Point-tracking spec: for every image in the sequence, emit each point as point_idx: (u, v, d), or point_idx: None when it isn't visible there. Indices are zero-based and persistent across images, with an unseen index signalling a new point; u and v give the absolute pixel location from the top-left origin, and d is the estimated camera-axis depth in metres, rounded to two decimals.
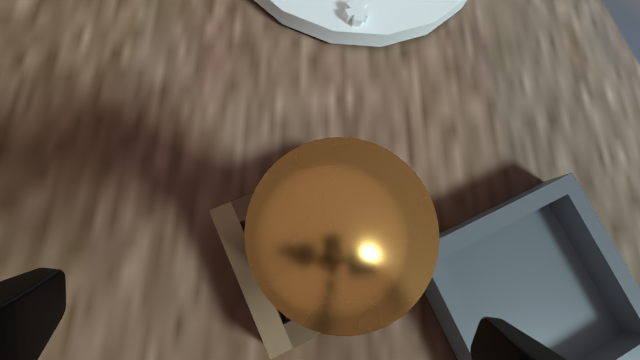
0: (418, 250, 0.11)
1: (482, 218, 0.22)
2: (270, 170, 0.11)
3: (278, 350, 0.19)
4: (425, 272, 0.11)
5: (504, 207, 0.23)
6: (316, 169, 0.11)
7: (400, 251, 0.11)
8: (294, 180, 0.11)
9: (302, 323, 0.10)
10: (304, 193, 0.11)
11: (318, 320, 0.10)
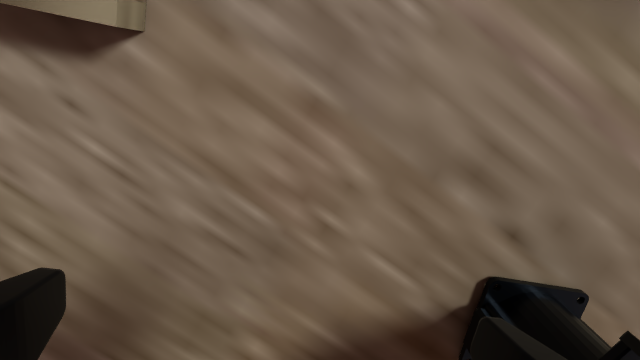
0: None
1: None
2: None
3: (111, 11, 0.15)
4: None
5: None
6: None
7: None
8: None
9: None
10: None
11: None
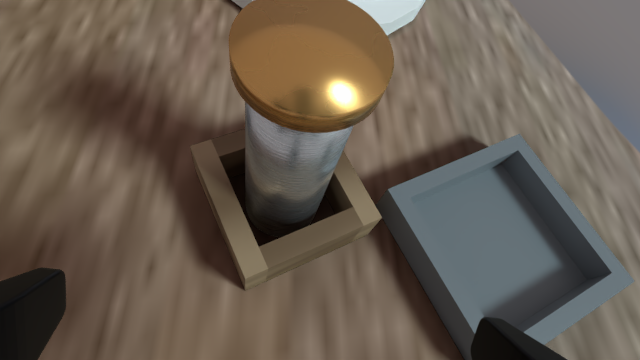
0: (377, 64, 0.13)
1: (444, 166, 0.24)
2: (251, 3, 0.13)
3: (253, 270, 0.19)
4: (383, 78, 0.12)
5: (463, 158, 0.25)
6: (289, 6, 0.13)
7: (361, 62, 0.13)
8: (271, 11, 0.13)
9: (278, 102, 0.11)
10: (280, 19, 0.13)
11: (292, 101, 0.11)
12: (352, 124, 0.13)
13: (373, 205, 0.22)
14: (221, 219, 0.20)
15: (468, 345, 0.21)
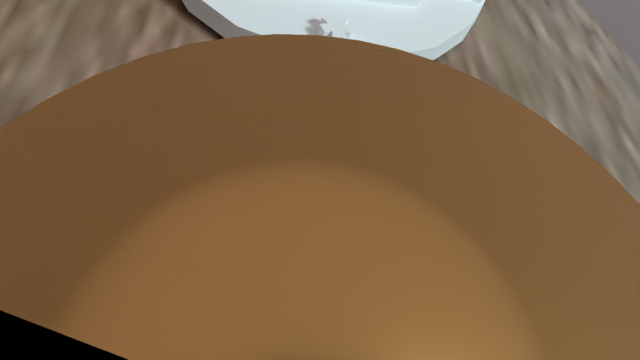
0: None
1: None
2: (24, 121, 0.02)
3: None
4: None
5: None
6: (229, 127, 0.03)
7: None
8: (128, 163, 0.02)
9: None
10: (167, 217, 0.02)
11: None
12: None
13: None
14: None
15: None
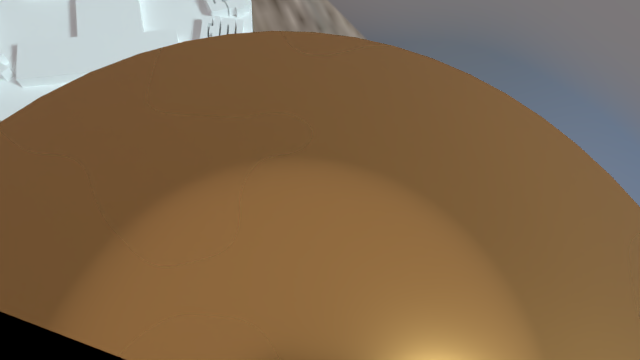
0: None
1: None
2: (20, 117, 0.02)
3: None
4: None
5: None
6: (223, 123, 0.03)
7: None
8: (124, 159, 0.02)
9: None
10: (162, 213, 0.02)
11: None
12: None
13: None
14: None
15: None
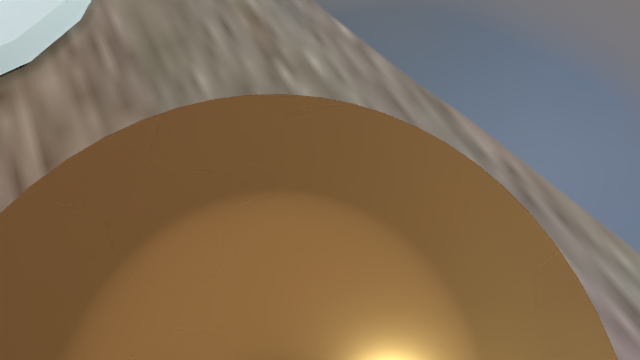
0: None
1: None
2: (52, 177, 0.03)
3: None
4: None
5: None
6: (210, 176, 0.03)
7: None
8: (131, 208, 0.03)
9: None
10: (161, 251, 0.03)
11: None
12: None
13: None
14: None
15: None
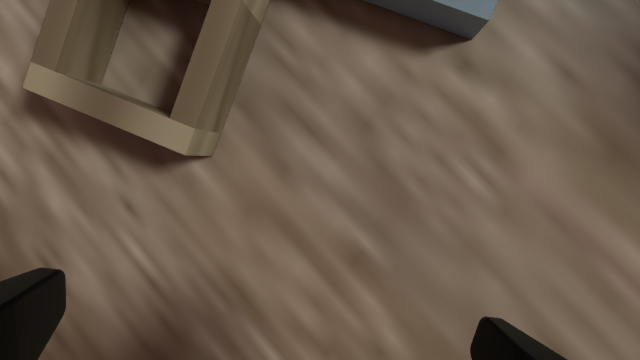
0: None
1: None
2: None
3: (184, 142, 0.16)
4: None
5: None
6: None
7: None
8: None
9: None
10: None
11: None
12: None
13: None
14: (117, 125, 0.17)
15: (443, 17, 0.17)
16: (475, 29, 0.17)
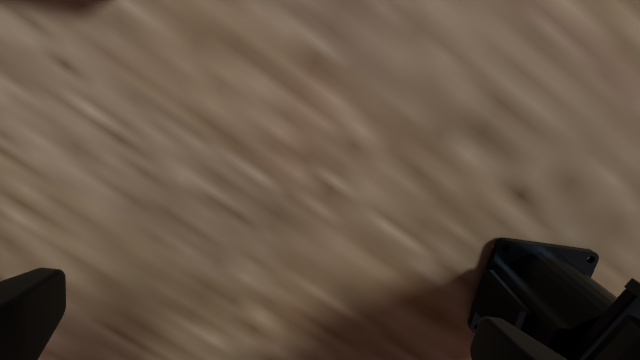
0: None
1: None
2: None
3: None
4: None
5: None
6: None
7: None
8: None
9: None
10: None
11: None
12: None
13: None
14: None
15: None
16: None
